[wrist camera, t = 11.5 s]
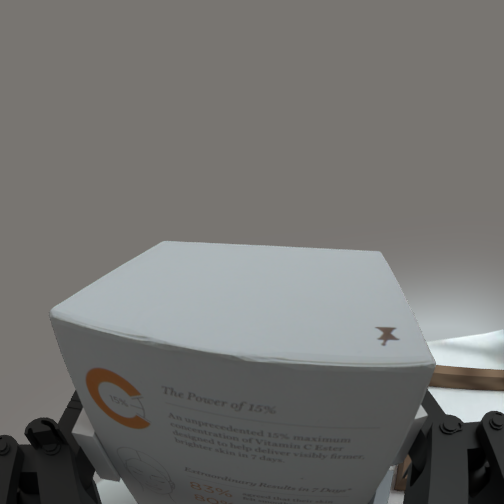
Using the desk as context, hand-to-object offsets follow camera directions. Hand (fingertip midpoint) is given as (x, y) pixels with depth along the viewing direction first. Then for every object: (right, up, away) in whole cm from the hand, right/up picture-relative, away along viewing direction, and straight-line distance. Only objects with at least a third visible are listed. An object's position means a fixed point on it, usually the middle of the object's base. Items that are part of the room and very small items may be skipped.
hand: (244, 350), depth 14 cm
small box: (0, -9, -2) cm, 9 cm away
